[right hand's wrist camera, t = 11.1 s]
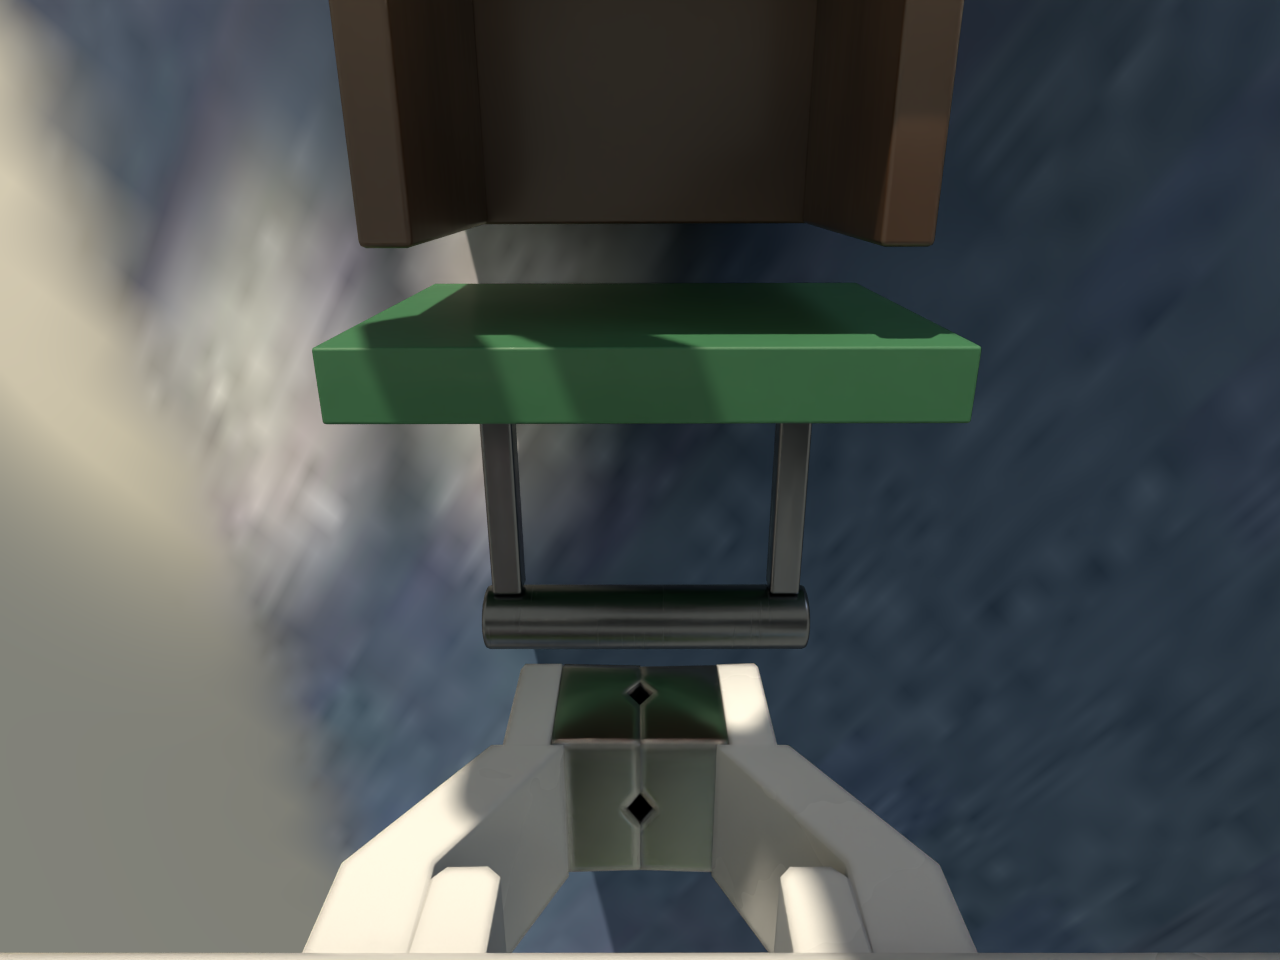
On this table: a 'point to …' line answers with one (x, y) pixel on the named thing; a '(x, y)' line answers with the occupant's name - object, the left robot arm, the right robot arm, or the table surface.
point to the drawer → (646, 194)
